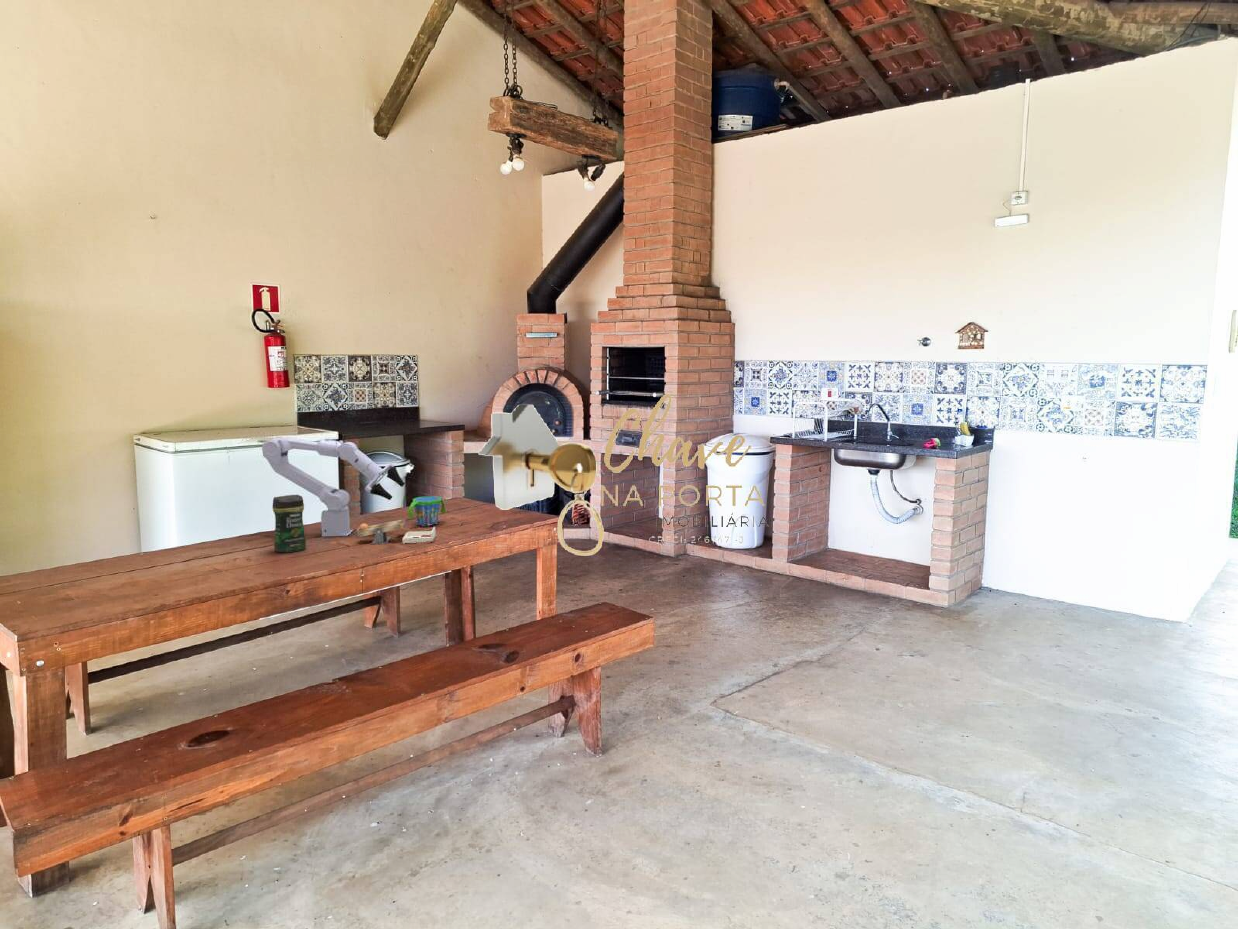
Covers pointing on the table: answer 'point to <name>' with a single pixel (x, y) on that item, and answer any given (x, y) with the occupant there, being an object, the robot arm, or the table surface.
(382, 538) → the stand
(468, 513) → the table surface
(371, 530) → the lever
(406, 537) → the dish
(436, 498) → the snack cup
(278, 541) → the coffee jar
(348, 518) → the robot arm
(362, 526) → the ball
